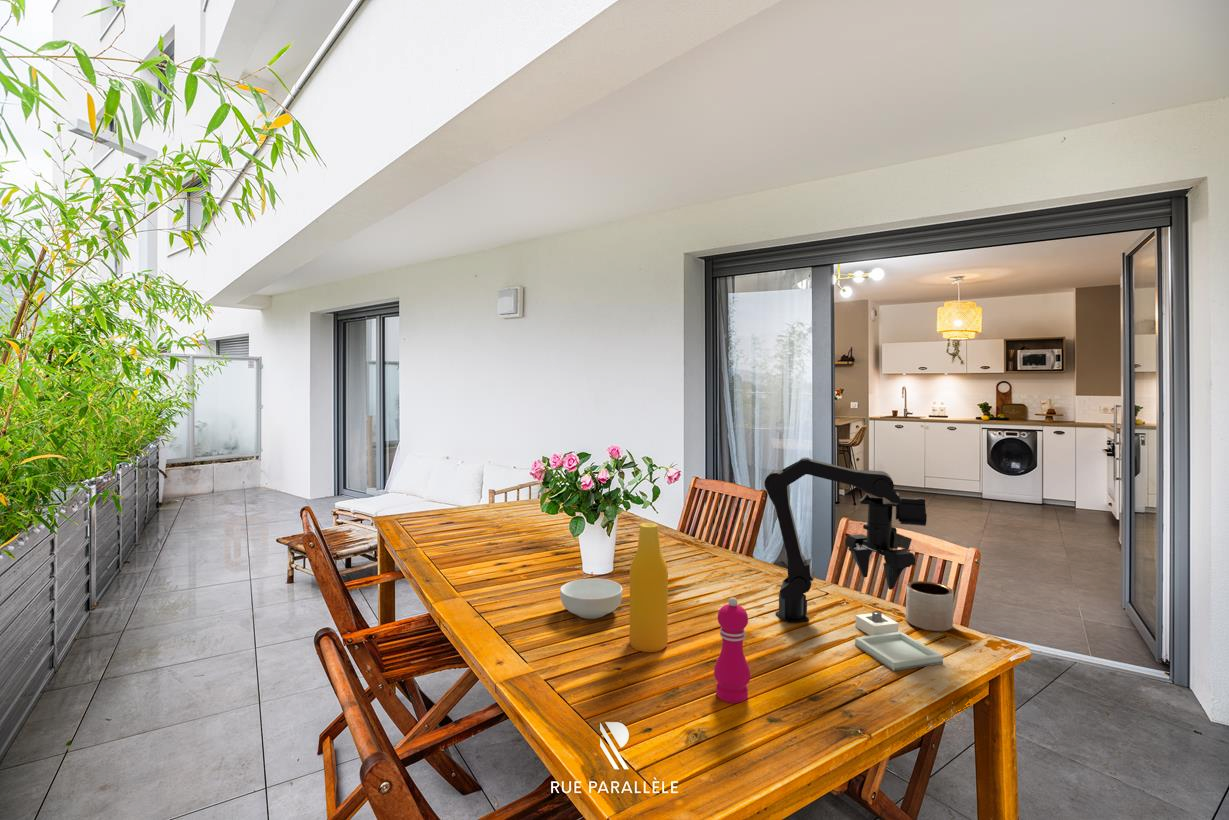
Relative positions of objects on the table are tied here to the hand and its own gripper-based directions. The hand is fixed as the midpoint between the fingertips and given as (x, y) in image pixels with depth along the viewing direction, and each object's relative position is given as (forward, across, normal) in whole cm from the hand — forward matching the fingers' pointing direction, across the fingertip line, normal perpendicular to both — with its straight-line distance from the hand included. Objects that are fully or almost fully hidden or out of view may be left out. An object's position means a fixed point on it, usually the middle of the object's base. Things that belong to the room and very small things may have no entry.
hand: (877, 583), depth 150 cm
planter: (+12, -1, -16) cm, 20 cm away
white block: (+12, -1, 0) cm, 12 cm away
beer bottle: (+12, +9, +58) cm, 60 cm away
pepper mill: (+12, -17, +50) cm, 54 cm away
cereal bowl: (+13, +31, +67) cm, 75 cm away
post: (+12, -1, 0) cm, 12 cm away
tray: (+12, -13, +5) cm, 18 cm away
